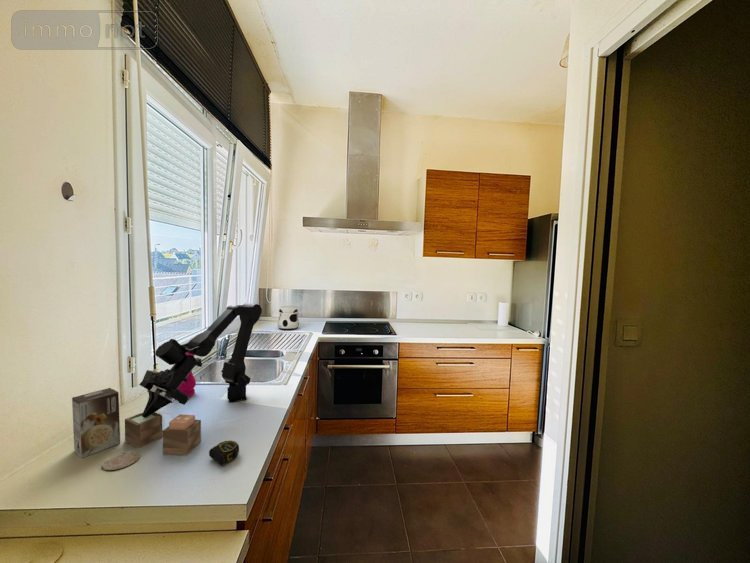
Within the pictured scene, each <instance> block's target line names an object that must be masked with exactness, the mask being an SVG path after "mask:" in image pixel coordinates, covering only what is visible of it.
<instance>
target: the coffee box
mask: <svg viewBox="0 0 750 563" xmlns="http://www.w3.org/2000/svg"><path fill="white" fill-rule="evenodd" d="M119 395H120V394H119V392H118V391H117V390H116V389H114V388H111V387H107V388H104V389H99V390H97V391H93V392H89V393H85V394H82V395H78V396H77V395H76V396H72V397H71V403H72V404H71V405H72V427H73V428H72V429H73V450H75V451H74V452H75V453H76V454H77V455H78V456H79V457H80V458H81V459H83V458H86V457H88V456H90V455H93V454H95V453H98V452H101V451H104V450H107V449H109V448H111V447H113V446H116V445H119V444H120V443H121V427H120V426H121V425H120V398H119V397H120V396H119Z"/></svg>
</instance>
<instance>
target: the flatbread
mask: <svg viewBox="0 0 750 563" xmlns="http://www.w3.org/2000/svg"><path fill="white" fill-rule="evenodd" d="M140 456H141V455H140V454H139V453H138V452H135V451H133V452H128V451H127V452H122V453H119V454H118V455H115V456H113V457H110V458H109V459H107V460H106V461H105V462H104V463H103V464H102V465H101V469H103V470H105V471H117V470H120V469H124V468H125V467H128V466H131V465H132V464H134V463H136V462H137V461H138V460H139V459H140Z"/></svg>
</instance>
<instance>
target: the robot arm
mask: <svg viewBox="0 0 750 563" xmlns="http://www.w3.org/2000/svg"><path fill="white" fill-rule="evenodd" d="M262 313H263V308H262V306H261V305H260V304H259V303H250V302H245V303H243V304H242V305H241V304H237V305H233V304H232V305H231V304H230V305H228V306H227V307H226V308H225V310H224V311H223V312H222V313H221V314H220V315H219V316H218V317H217V318H216V319H215V320H214V321H213V322H212V324H211V325H210V326H208V328H207V329H206V330H204V331H203V332H201V333H199V334H197V335H195V336H194V337H192V338H191V339H190V340H189V341H188V342H186V343H183V344H180V342H178V340H176V339H175V338H170V339H169V340H168V341H166V342H164V343H162V344H161V345H159V346H158V347H157V349H156V350H155V352H154V355H155V356H156V357H158V359H160V360H161V361H163V362H165V363H166V364H168V365H169V366H171V367H170V369H168V368H167V369H165V370H160V371H156V370H150V369H149V370H148V369H146V372H145V374H144V375H143V377H142V378H143V379H142V380H141V382H140V383H139V384H138V385H139V386H140V387H142V388H144V389H146V391H147V393H148V399H147V403H146V404H145V407H144V410H143V412H142V413H143V414H142V417H145V418H146V417H148V416H149V415H151V414H153V413H154V412H156V413H157V411H159V410H160V409H163V408H164V407H166V406H168V405H170V404H173V403H174V401H177V402H178V403H179V404H181V405H184V406H185V405H186V404H187V403H188V401H189V398H190V397H189V396H188V395H187V394H185V393H183V392H182V391H180V390H178V388H179V386H180V385H181V384H182V382H187V379H186V377H187V376H188V375H189V373H190V372H191V371H192V372H193V370H194V368H195V367H200V368H203V364H202V357H207V356H208V355H209V354H210V353H211V351H212V350H213V348H215V346H216V341H217V339H218V337H220V335H222V334H223V332H224V331H225V330H227V328H228V327H229V326H230V325H231V324H232V322H234V320H235V319H236V318H237V317H239V320H240V325H239V328H238V333H237V336H236V341H235V344H234V348H233V351H232V354H231V358H230V359H229V360H228V361H224V362H223V366H222V370H221V371H220V373H221V377H222V379H223V380H224V381H225V384H228V386H227V387H226V390H227V393H226V394H227V396H226V397H227V400H228V403H234V402H240V401H245V400H247V385H249V384H250V382H251V377H249V376H248V375H247V374H246V370H247V369H246V363H245V359H246V355H247V350H248V346H249V343H250V340H251V336H252V331H253V329H254V326H255V325H256V323H258V321H259V320H260V318H261V315H262ZM186 353H189V354H193V355H194V356H192V355H186ZM195 356H196V357H195ZM199 357H201V358H199ZM173 400H174V401H173Z"/></svg>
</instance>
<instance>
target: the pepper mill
mask: <svg viewBox="0 0 750 563" xmlns="http://www.w3.org/2000/svg"><path fill="white" fill-rule="evenodd" d="M186 355H192V356H194V357H195V355H193V354H189V353H186ZM186 379H187V382H182V384H181V385H180V386H179V388H178V390H180V391H182V392H183V393H185V394H187V395H188V396H189V398H190V397H193V396H194V395H195V394H196V393H195V390H196V389H195V387H196V385H197V381H196V378H195V377H194V373H193V370H192V371H191V372H190V373H189V375H188V376H187V377H186Z"/></svg>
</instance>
